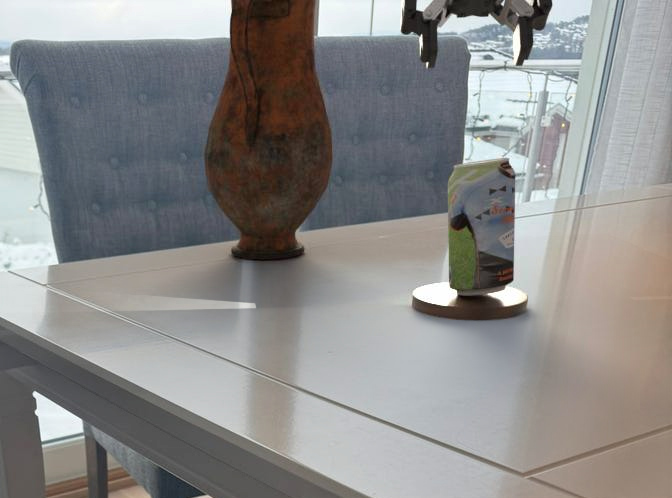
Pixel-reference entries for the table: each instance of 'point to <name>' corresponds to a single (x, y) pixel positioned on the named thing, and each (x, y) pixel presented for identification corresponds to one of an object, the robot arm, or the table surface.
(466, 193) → the beverage can
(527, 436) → the table surface
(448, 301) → the walnut puck
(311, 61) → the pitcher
